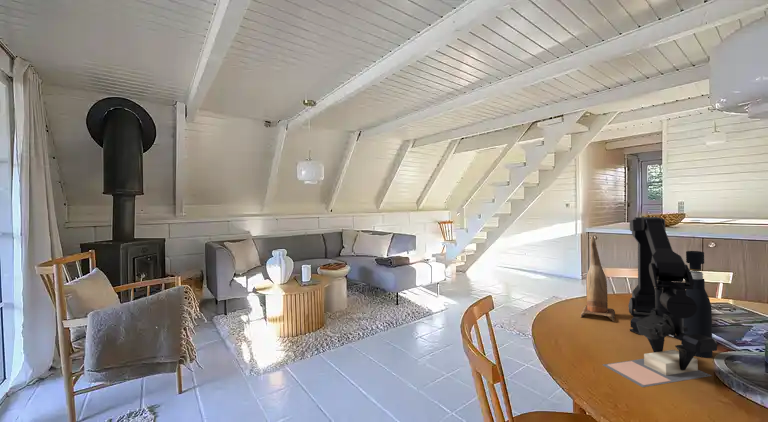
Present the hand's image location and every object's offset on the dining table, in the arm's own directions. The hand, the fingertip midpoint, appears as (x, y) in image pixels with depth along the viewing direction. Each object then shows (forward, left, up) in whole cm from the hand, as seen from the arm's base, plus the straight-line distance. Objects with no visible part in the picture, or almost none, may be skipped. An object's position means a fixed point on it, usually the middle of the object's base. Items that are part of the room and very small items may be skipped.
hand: (670, 364), depth 92 cm
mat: (+5, 0, -1) cm, 5 cm away
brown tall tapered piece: (-15, -41, -2) cm, 44 cm away
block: (0, 0, -1) cm, 1 cm away
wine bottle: (-15, -5, -2) cm, 16 cm away
